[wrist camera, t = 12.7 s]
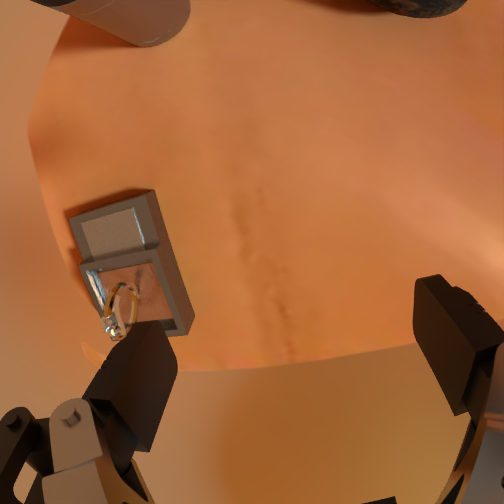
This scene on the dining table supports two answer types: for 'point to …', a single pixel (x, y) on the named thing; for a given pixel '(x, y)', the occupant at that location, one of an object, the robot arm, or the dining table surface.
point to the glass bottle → (420, 7)
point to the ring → (116, 318)
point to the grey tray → (133, 261)
